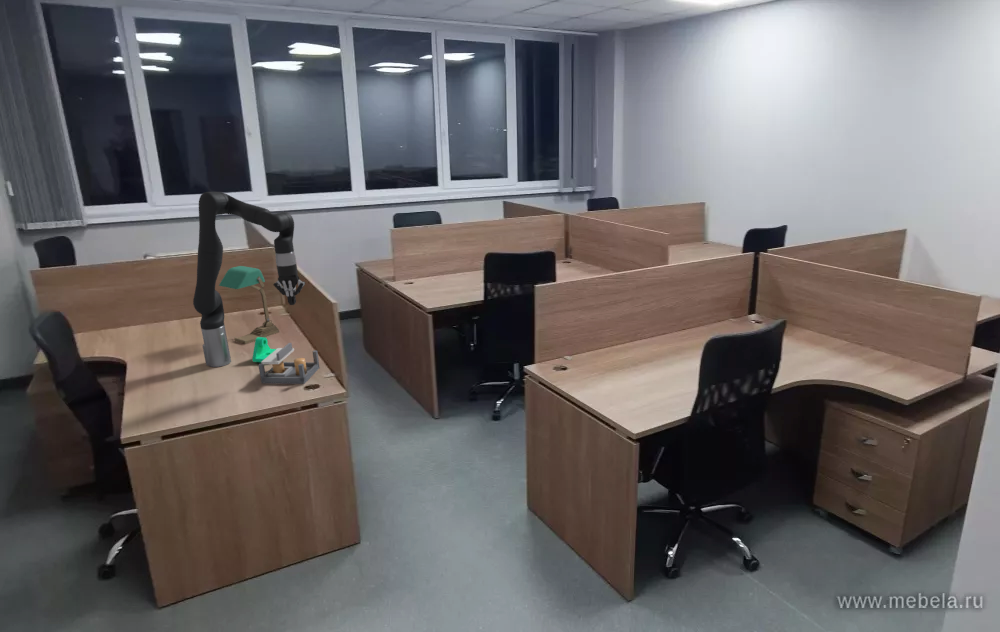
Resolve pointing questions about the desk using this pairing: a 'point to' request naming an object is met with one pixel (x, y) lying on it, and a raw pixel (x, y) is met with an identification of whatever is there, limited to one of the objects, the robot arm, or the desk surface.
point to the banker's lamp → (250, 277)
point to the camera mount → (261, 349)
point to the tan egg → (278, 368)
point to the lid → (278, 355)
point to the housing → (291, 371)
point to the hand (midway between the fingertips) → (292, 304)
